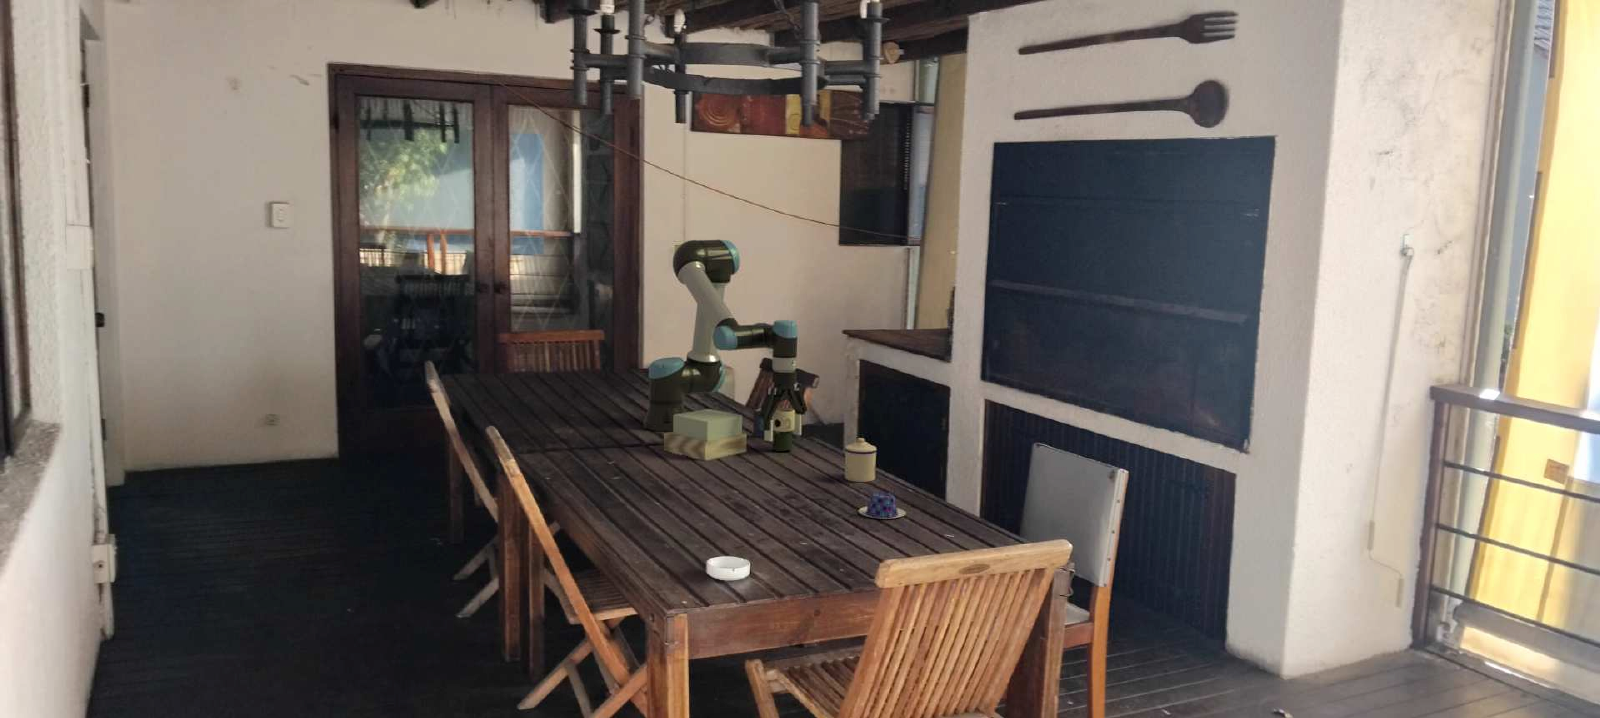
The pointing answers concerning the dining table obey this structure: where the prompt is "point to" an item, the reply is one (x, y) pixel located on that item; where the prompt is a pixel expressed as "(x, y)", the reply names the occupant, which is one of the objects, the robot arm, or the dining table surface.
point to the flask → (759, 425)
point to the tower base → (704, 446)
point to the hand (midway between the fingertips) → (782, 437)
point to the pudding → (882, 507)
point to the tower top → (707, 424)
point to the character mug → (783, 428)
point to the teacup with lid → (860, 461)
